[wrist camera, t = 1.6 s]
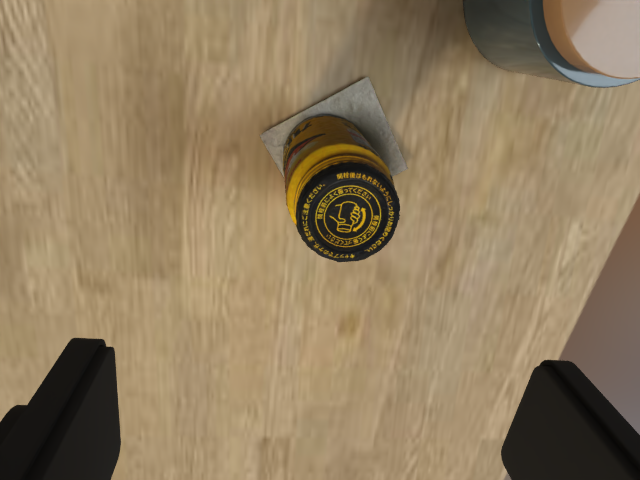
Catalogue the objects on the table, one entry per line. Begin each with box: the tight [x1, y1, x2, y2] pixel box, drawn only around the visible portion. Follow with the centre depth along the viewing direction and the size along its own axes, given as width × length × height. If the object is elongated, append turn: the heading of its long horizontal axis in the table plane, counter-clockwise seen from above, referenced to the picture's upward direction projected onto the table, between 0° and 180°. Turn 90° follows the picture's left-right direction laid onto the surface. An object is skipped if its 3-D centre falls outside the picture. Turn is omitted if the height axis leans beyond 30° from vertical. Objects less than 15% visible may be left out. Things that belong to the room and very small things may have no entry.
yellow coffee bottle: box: [259, 77, 408, 262], centre depth 27 cm, size 7×8×12 cm
